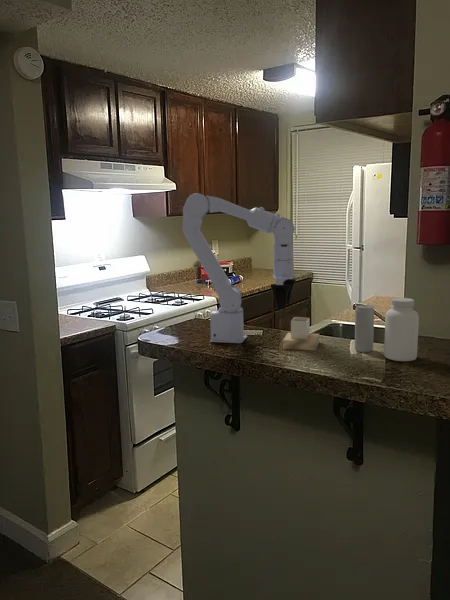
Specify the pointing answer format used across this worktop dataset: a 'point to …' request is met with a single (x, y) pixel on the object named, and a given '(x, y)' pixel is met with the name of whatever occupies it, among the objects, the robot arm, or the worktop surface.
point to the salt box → (300, 327)
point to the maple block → (301, 342)
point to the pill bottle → (401, 331)
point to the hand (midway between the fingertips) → (283, 306)
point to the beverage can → (364, 328)
